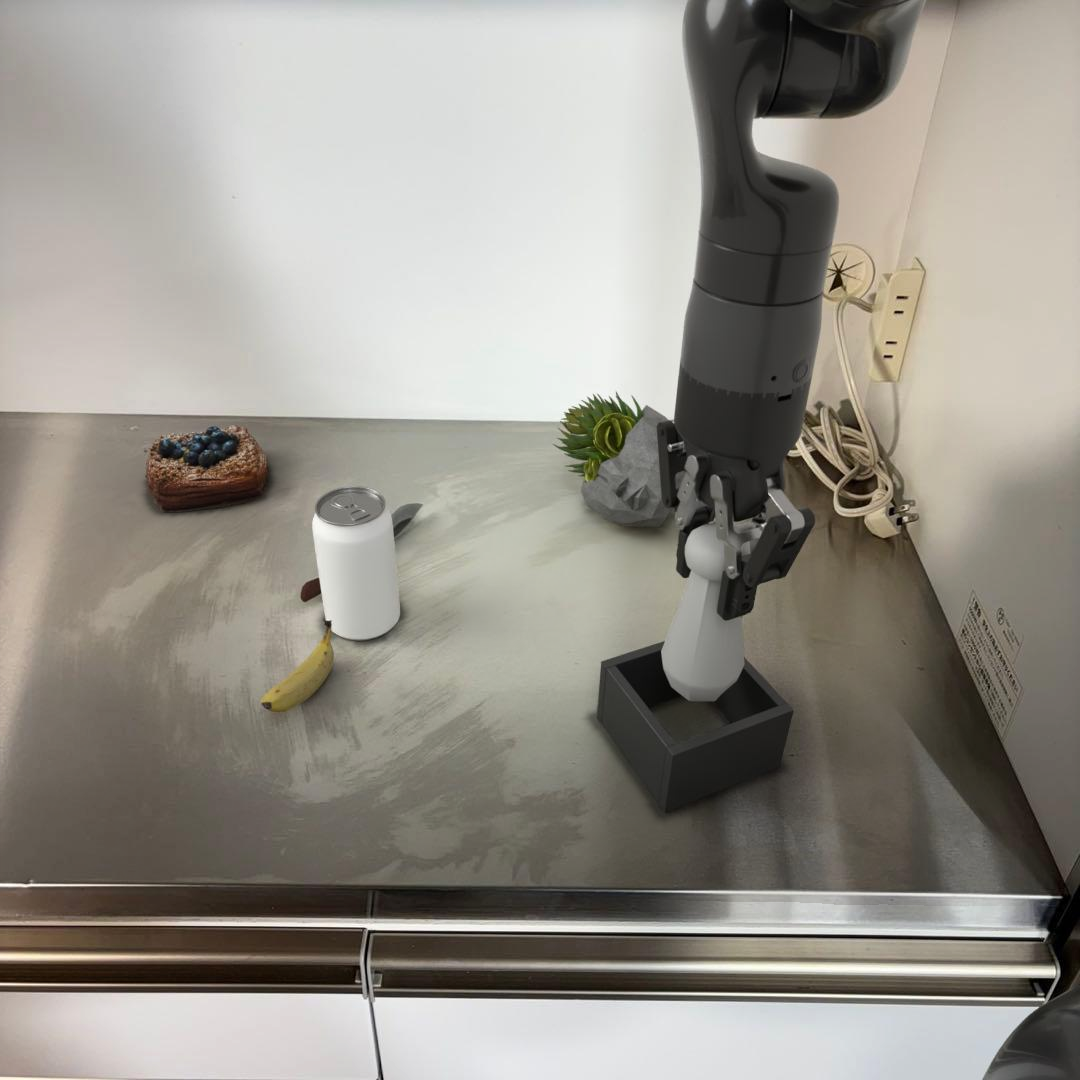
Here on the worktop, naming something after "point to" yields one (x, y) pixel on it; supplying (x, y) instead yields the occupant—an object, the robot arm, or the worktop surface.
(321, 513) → the can
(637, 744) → the holder
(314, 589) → the knife
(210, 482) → the pastry
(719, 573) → the salt shaker
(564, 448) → the potted plant
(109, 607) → the worktop surface
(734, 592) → the robot arm
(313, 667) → the banana
